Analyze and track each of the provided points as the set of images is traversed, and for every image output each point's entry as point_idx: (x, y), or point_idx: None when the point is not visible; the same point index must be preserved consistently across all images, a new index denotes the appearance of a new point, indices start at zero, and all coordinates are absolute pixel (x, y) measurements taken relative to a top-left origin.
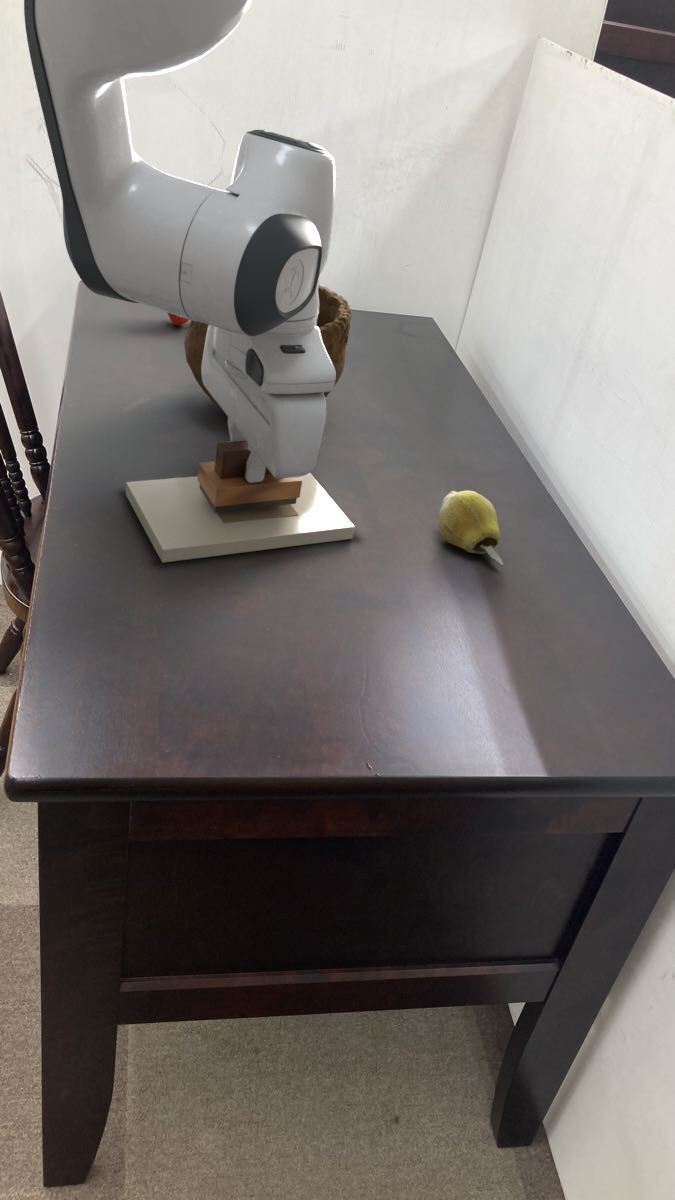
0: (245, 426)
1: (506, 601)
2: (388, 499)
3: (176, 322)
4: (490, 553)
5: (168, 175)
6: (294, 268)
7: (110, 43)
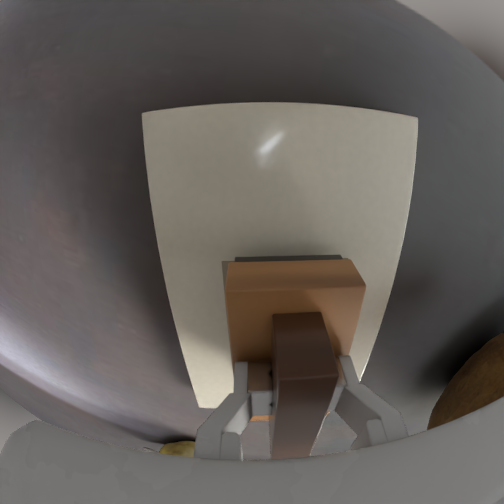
0: (217, 502)
1: (110, 427)
2: None
3: None
4: (152, 451)
5: None
6: None
7: None
